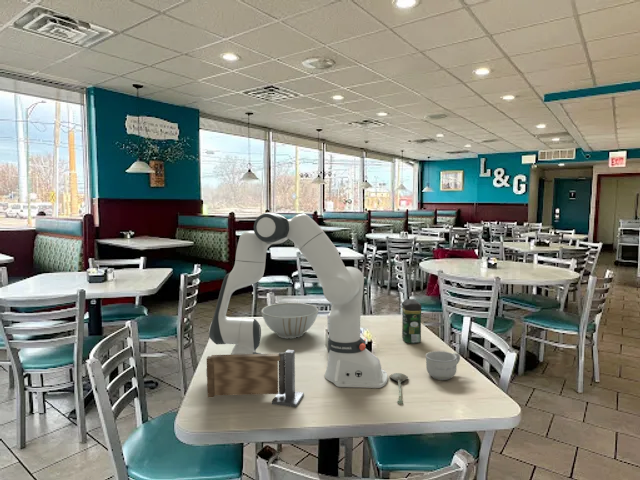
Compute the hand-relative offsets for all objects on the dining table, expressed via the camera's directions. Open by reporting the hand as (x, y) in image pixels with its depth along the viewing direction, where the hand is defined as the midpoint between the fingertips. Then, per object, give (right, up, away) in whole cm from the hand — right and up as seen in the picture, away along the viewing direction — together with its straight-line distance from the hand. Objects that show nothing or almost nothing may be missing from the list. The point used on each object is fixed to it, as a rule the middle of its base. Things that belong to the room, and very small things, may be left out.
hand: (234, 379), depth 132 cm
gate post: (+17, -7, 0) cm, 18 cm away
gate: (+4, -5, 0) cm, 6 cm away
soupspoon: (+54, -6, +8) cm, 55 cm away
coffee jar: (+69, -1, +56) cm, 89 cm away
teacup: (+72, -5, +18) cm, 75 cm away
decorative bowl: (+13, -1, +65) cm, 66 cm away
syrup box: (+34, -2, +49) cm, 60 cm away
